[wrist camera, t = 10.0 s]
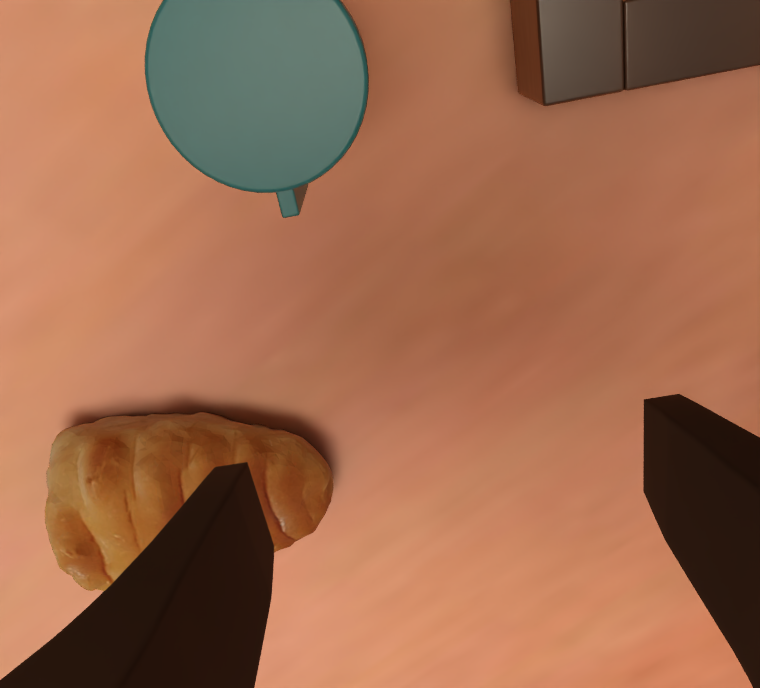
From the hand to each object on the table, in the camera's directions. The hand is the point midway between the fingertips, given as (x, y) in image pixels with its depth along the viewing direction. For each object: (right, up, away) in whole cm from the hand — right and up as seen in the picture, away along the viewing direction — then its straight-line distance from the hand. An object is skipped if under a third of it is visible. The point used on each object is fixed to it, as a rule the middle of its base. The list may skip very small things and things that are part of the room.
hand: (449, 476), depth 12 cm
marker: (-3, +10, +6) cm, 13 cm away
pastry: (-8, -2, +13) cm, 15 cm away
